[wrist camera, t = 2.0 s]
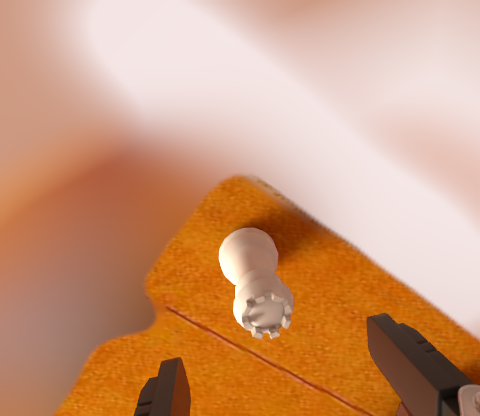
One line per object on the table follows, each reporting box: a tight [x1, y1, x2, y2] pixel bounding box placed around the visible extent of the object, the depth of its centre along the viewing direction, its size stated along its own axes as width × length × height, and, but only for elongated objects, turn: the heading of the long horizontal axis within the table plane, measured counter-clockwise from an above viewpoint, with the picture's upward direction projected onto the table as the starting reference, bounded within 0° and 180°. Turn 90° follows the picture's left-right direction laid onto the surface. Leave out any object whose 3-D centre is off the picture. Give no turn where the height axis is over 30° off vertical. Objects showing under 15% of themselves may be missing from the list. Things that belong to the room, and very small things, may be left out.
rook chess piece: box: [219, 228, 294, 339], centre depth 17 cm, size 4×4×8 cm
